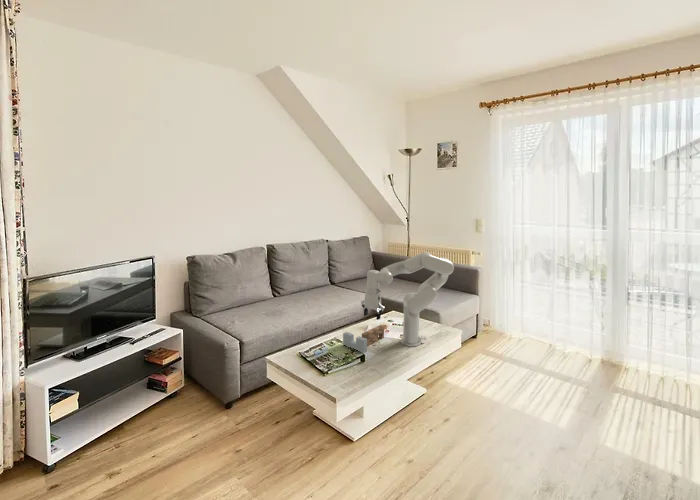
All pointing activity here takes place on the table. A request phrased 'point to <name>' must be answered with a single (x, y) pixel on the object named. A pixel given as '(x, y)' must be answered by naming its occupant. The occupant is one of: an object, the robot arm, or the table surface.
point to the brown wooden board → (373, 334)
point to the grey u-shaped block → (358, 345)
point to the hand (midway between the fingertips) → (372, 317)
